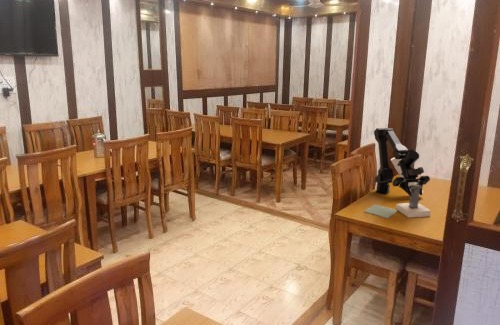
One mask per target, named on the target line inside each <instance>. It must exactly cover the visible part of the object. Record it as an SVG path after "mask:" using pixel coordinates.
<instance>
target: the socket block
mask: <svg viewBox="0 0 500 325" xmlns="http://www.w3.org/2000/svg"><path fill="white" fill-rule="evenodd" d="M409 203H410V202H406V203H405V202H403V203H396V209H395V210H398V212H400V213H401V214H402V215H405V217H407V218H408V219H409V218H422V217H423V218H424V217H431V210H430V209H429V208H427V207H426V206H424V205H423V204H421V203H419V202H418V208H414V209H412V208H411V207H409Z"/></svg>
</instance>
